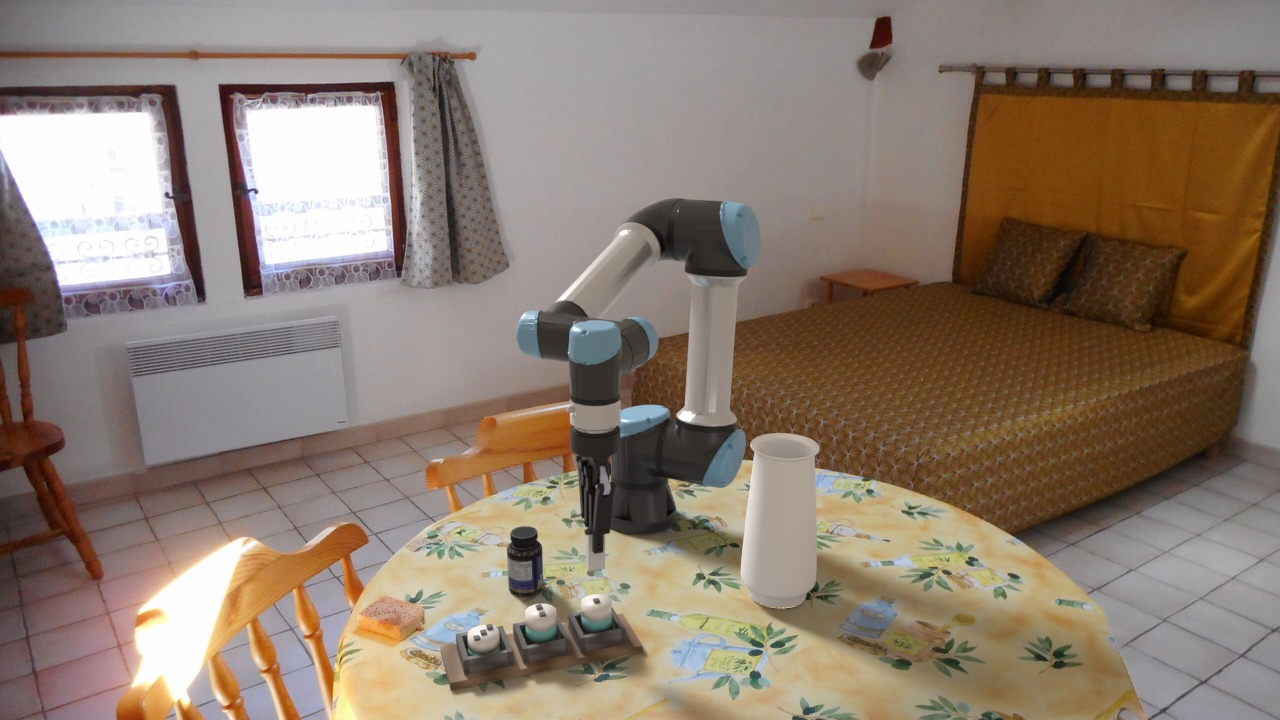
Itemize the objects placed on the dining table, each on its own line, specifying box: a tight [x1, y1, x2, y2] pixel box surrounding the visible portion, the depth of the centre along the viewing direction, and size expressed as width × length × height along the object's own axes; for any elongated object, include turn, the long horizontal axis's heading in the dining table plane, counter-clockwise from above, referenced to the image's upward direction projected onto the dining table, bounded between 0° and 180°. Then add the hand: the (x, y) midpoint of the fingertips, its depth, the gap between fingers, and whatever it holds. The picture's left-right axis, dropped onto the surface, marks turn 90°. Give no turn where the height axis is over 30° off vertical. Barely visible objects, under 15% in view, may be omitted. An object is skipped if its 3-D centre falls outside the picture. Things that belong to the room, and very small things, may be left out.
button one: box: [580, 593, 613, 633], centre depth 155 cm, size 5×5×4 cm
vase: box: [740, 432, 821, 608], centre depth 167 cm, size 13×13×28 cm
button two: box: [524, 603, 557, 643], centre depth 152 cm, size 5×5×4 cm
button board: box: [439, 606, 644, 691], centre depth 153 cm, size 30×10×4 cm, turn 109°
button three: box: [467, 623, 500, 656], centre depth 150 cm, size 5×5×4 cm
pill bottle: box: [506, 525, 544, 597], centre depth 171 cm, size 6×6×11 cm
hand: (595, 567), depth 152 cm, fingers closed
